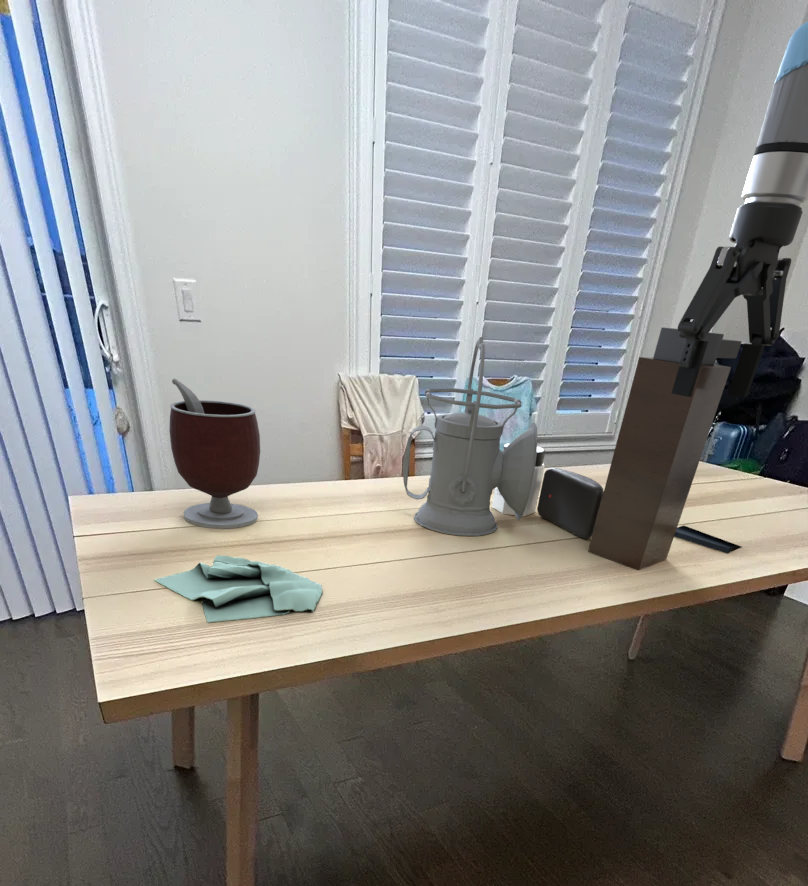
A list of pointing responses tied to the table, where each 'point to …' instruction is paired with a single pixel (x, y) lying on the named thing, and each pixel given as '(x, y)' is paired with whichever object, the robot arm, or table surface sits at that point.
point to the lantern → (473, 464)
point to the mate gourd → (215, 456)
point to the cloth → (244, 589)
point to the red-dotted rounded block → (570, 501)
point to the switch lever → (717, 347)
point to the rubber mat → (705, 539)
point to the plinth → (654, 462)
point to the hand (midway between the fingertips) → (710, 395)
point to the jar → (503, 507)
